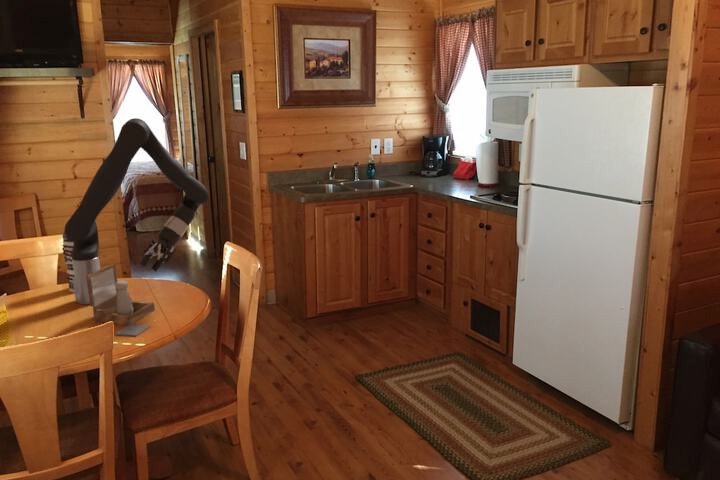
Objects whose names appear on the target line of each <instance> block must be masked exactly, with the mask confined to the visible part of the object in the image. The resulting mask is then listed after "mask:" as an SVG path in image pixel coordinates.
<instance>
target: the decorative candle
mask: <svg viewBox="0 0 720 480" xmlns="http://www.w3.org/2000/svg"><path fill="white" fill-rule="evenodd" d="M61 235H62V249H61V250H62V252H63V253H62V254H63V255H64V256H63V259H64V263H65V264H66V267H67V269H66V270H67V271H66V272H67V273H66V276H67V280H68V282H67V284H68V288H69V289H68V290H69V292H72V293H75V292H74V285H73V278H75V276H74V269H73V262H72V256H71V252H72V250H73V246H74V242H71V241H69V240H68V239H67V237H66V236H65V231H64V230H63V232H62V233H61Z"/></svg>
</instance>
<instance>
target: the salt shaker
mask: <svg viewBox="0 0 720 480" xmlns="http://www.w3.org/2000/svg"><path fill="white" fill-rule="evenodd" d="M115 288H116V289H118V293H117V305H116V312H115V313H116V315H127V316H130V315H131V314H133V313H134V311H135V310H134V308H133V305H132V302H131V300H132V298H131V299H130V297H131V296H130V294H129V290H128V288H129V283H128V281H127V280H117V282H116V283H115Z"/></svg>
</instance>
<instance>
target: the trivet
mask: <svg viewBox="0 0 720 480" xmlns="http://www.w3.org/2000/svg"><path fill="white" fill-rule="evenodd" d="M149 328H151V325H142V324H133V325H132V324H129V325H125V326H124V327H122V328H121V329H119V330H118V331H117V332H114V335H115V336H124V337H136V338H137V337H138V336H140V335H141V334H143V333H144V332H146V331H147V330H148V329H149Z"/></svg>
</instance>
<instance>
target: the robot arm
mask: <svg viewBox="0 0 720 480" xmlns="http://www.w3.org/2000/svg"><path fill="white" fill-rule="evenodd" d="M140 149H142V150H143V151H144V152H145V153H147V155H148V156H149V157H150V158H151V159H152V160H153V162H154V163H155V165H156V166H157V168H158V169H159V171H160V172H161V173H162V174H163V175H164V177H166V178H167V180H169V182H171V183H172V185H173V186H175V188H177V189H180V190H182V191H183V192H184V196H183V197H182V200H181V201H180V204H179V205H178V207H177V208H176V209H175V210H174V212H173V214H172V215H171V216H170V217H169V218H168V220H167V221H166V222H165V224H164V225H163V227H162V228H161V229H160V231H159V232H158V234H157V238H158V240H155V239H152V240H151V241H150V242H149V243H148V245H147V246H146V247H145V249H144V250H143V254H144V256H143V257H142V259H141V260H140V262H139V265H140V266H141V267H144V268H145V267H146V266H147V265H148V263H149V262H150V261H151V259H152V258H153V257H157V259H156V260H155V261H154V262H153V265H152V266H151V268H150V269H151V270H152V271H153V272H157V271H158V269H159V268H160V267H161V266H162V264H164V263H166V264H167V263H168V262H169V260H170V259H171V257H172V256H173V255H174V253H175V251H176V248H175V247H176V246H177V245H178V243H179V242H180V241H181V238H182V237H183V236H184V234H185V233H186V231H187V229H188V227H189V225H190V224H191V223H192V221H194V219H195V216H196V212H197V210H198V209H199V207H200V206H201V205H204V204H206V203H207V202H208V201H209V199H210V192H209V190H208V189H207V188H206V186H205V185H204V184H203V183H202V182H200V181H199V180H198V179H196V178H195V177H194V176H192V175H191V174H190V172H188V171H187V170H186V168H184V166H183V165H182V164H181V163H180V162H178V160H177V159H176V158H175V157H174V156H173V155H172V154H171V153H170V152H169V151H168V150H167V149H166V148H165V147H164V146H163V144H162V142H160V141H159V139H158V137H157V136H156V135H155V133H154V132H153V131H152V130H151V128H150V126H149V124H148V123H147V122H146V121H144V120H142V118H141V119H140V118H139V117H138V118H137V117H136V118H135V117H134V118H131V119H129V120H127V121H126V122H125V123H124V124H123V125H122V126H121V128H120V131H119V134H118V136H117V139H116V141H115V143H114V145H113V148H112V149H111V151H110V152H109V154H108V155H107V157H106V158H105V159H104V161H103V162H102V163H101V164H100V167H98V169H97V171H96V172H95V174H94V176H93V178H92V180H91V182H90V184H89V186H88V188H87V189H86V191H85V194H84V195H83V197H82V199H81V202H80V203H79V205H78V207H77V208H76V210H75V211H74V212H73V214H72V215H70V218H69V219H68V220H67V221H66V223H65V225H64V230H63V232H64V231H65V236H66V237H67V239H68V240H69V241H71V242H74V246H73V250H72V252H71V256H72V262H73V269H74V276H75V278H73V285H74V292H73V293H74V297H75V303H78V304H81V305H90V299H89V292H88V285H87V278H86V276H87V275H89V274H92V273H94V272H96V271H98V270H100V269H101V264H100V257H99V249H100V241H99V230H98V225H97V222H96V219H97V218H98V217H99V216H100V215H99V214H101V212H102V211H103V210H104V209H105V207H106V206H107V205H109V203H110V202H111V201H112V200H113V198H114V196H116V194H117V192H118V190H119V189H120V188H121V185H122V184H123V183H124V180H125V178H126V175H127V172H128V170H129V167H130V164H131V162H132V161H133V159H134V157H135V156H136V155H137V153H138V151H139V150H140Z"/></svg>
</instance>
